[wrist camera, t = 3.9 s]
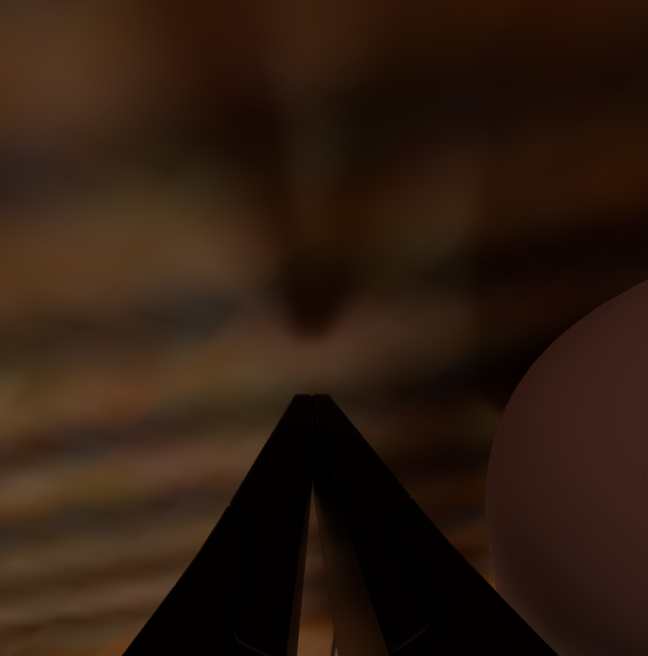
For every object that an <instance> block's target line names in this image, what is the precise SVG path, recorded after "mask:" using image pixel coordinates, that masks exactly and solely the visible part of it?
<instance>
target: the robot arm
mask: <svg viewBox="0 0 648 656" xmlns="http://www.w3.org/2000/svg"><path fill="white" fill-rule="evenodd" d="M312 481H313V492H314V500H315V507H316V513H317V520H318V527H319V533H320V540H321V547H322V553H323V560H324V567H325V574H326V580H327V587H328V594H329V600H330V607H331V614H332V621H333V627H334V634H335V643H334V649H333V655H332V656H559V655H558V654H557V653H556V652H555V651H554V650H553V649H552V648H551V647H550V646H549V645H548V644H547V643H546V642H545V641H544V640H543V639H542V638H541V637H540V636H539V635H538V634H537V633H536V632H535V631H534V630H533V629H532V628H531V627H530V626H529V625H528V624H527V622H526V621H525V620H524V619H523V618H522V617H521V616H520V615H519V614H518V613H517V612H516V611H515V610H514V609H513V608H512V607H511V606H510V605H509V604H508V603H507V602H506V601H505V600H504V599H503V598H502V597H501V596H500V595H499V594H498V593H497V592H496V591H495V589H494V588H493V587H492V586H491V585H490V584H489V583H488V582H487V581H486V580H485V579H484V578H483V577H482V576H481V575H480V574H479V573H478V572H477V571H476V570H475V569H474V568H473V567H472V566H471V565H470V564H469V563H468V561H467V560H466V559H465V558H464V557H463V556H462V555H461V554H460V553H459V552H458V551H457V550H456V549H455V548H454V546H453V545H452V544H451V543H450V542H449V541H448V540H447V539H446V538H445V537H444V535H443V534H442V533H441V532H440V531H439V530H438V528H437V527H436V526H435V525H434V524H433V522H432V521H431V520H430V519H429V518H428V517H427V515H426V514H425V513H424V512H423V511H422V509H421V508H420V507H419V506H418V504H417V503H416V502H415V500H414V499H412V498H411V499H410V495H409V493H408V492H407V491H406V490H405V488H404V487H403V486H402V485H401V483H400V482H399V481H398V480H397V478H396V477H395V476H394V475H393V473H392V472H391V471H390V470H389V468H388V467H387V466H386V465H385V464H384V462H383V461H382V460H381V459H380V457H379V456H378V455H377V454H376V452H375V451H374V450H373V449H372V447H371V446H370V445H369V444H368V442H367V441H366V440H365V439H364V437H363V436H362V435H361V434H360V433H359V431H358V430H357V429H356V428H355V426H354V425H353V424H352V423H351V421H350V420H349V419H348V418H347V416H346V415H345V414H344V413H343V411H342V410H341V409H340V408H339V406H338V405H337V404H336V403H335V402H334V400H333V399H332V398H331V397H330V395H328V394H314V395H313V396H311V395H310V394H296V395H295V396H294V397H293V399H292V400H291V402H290V404H289V405H288V407H287V409H286V410H285V412H284V414H283V415H282V417H281V419H280V420H279V422H278V424H277V425H276V427H275V429H274V430H273V432H272V434H271V435H270V437H269V439H268V440H267V442H266V443H265V445H264V447H263V448H262V450H261V452H260V453H259V455H258V457H257V458H256V460H255V462H254V463H253V465H252V467H251V468H250V470H249V472H248V473H247V475H246V477H245V478H244V480H243V482H242V483H241V485H240V487H239V488H238V490H237V491H236V493H235V495H234V496H233V498H232V500H231V501H230V506H228V507H227V508H226V509H225V511H224V513H223V514H222V516H221V518H220V519H219V521H218V523H217V524H216V526H215V527H214V529H213V530H212V532H211V534H210V535H209V537H208V538H207V540H206V541H205V543H204V544H203V546H202V548H201V549H200V551H199V552H198V554H197V555H196V556H195V558H194V559H193V561H192V562H191V563H190V565H189V566H188V567H187V569H186V570H185V572H184V573H183V574H182V576H181V577H180V579H179V580H178V581H177V583H176V584H175V586H174V587H173V588H172V590H171V591H170V592H169V594H168V595H167V596H166V598H165V599H164V600H163V602H162V603H161V604H160V605H159V607H158V608H157V609H156V611H155V612H154V613H153V615H152V616H151V617H150V619H149V620H148V621H147V623H146V624H145V625H144V627H143V628H142V629H141V631H140V632H139V633H138V635H137V636H136V637H135V639H134V640H133V641H132V643H131V644H130V645H129V647H128V648H127V649H126V651H125V652H124V653H123V655H122V656H297V648H298V638H299V627H300V616H301V605H302V594H303V583H304V572H305V561H306V550H307V539H308V528H309V517H310V506H311V494H312Z"/></svg>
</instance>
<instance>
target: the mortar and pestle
mask: <svg viewBox="0 0 648 656" xmlns="http://www.w3.org/2000/svg"><path fill="white" fill-rule="evenodd" d="M485 504H486V525H487V537H488V547H489V552H490V558H491V563H492V569H493V575H494V579H495V584H496V588H497V592H498V594H499V595H500V596H501V597H502V598H503V599H504V600H505V601H506V602H507V603H508V604H509V605H510V606H511V607H512V608H513V609H514V610H515V611H516V612H517V613H518V614H519V615H520V616H521V617H522V618H523V619H524V620H525V621H526V622H527V624H528V625H529V626H530V627H531V628H532V629H533V630H534V631H535V632H536V633H537V634H538V635H539V636H540V637H541V638H542V639H543V640H544V641H545V642H546V643H547V644H548V645H549V646H550V647H551V648H552V649H553V650H554V651H555V652H556V653H557V654H558V655H559V656H648V280H646V281H644V282H642V283H639V284H637V285H635V286H634V287H632V288H630V289H628V290H626V291H625V292H623V293H621V294H619V295H618V296H616V297H614V298H612V299H610V300H609V301H607V302H605V303H603V304H601V305H600V306H599V307H597V308H596V309H594V310H593V311H592V312H590V313H589V314H587V315H586V316H585V317H583V318H582V319H580V320H579V321H578V322H576V323H575V324H574V325H572V326H571V327H570V328H569V329H568V330H567V331H565V332H564V333H563V334H562V335H561V336H559V337H558V338H557V339H556V340H555V341H553V342H552V343H551V345H550V346H549V347H548V348H547V349H546V350H545V351H544V352H543V353H542V354H541V355H540V356H539V357H538V359H537V360H536V361H535V362H534V363H533V364H532V365H531V367H530V368H529V370H528V371H527V372H526V374H525V375H524V377H523V378H522V380H521V381H520V383H519V384H518V386H517V387H516V389H515V390H514V392H513V394H512V396H511V397H510V399H509V401H508V403H507V405H506V407H505V409H504V412H503V414H502V417H501V419H500V422H499V424H498V427H497V430H496V433H495V436H494V440H493V444H492V449H491V453H490V458H489V463H488V470H487V482H486V495H485Z"/></svg>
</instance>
